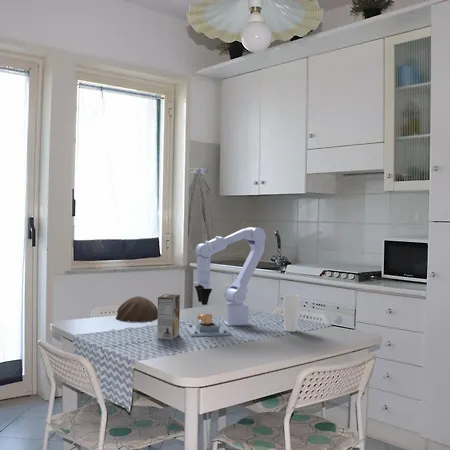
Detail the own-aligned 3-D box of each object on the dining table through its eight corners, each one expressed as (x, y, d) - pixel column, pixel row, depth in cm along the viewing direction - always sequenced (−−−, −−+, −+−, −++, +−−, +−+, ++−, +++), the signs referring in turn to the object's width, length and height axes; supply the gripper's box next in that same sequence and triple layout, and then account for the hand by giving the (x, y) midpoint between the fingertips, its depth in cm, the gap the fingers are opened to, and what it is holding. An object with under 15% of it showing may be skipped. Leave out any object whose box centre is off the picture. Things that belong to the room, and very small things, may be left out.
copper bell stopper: (213, 329, 227) (213, 314, 227) (207, 330, 224) (207, 315, 224) (202, 327, 231) (203, 312, 231) (196, 328, 228) (196, 313, 228)
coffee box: (164, 333, 221) (164, 293, 221) (179, 334, 220) (180, 294, 220) (156, 338, 212) (157, 297, 212) (172, 339, 211) (173, 297, 211)
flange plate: (222, 327, 236) (222, 320, 236) (231, 335, 221) (231, 327, 221) (185, 328, 233) (185, 321, 233) (191, 336, 217) (191, 329, 217)
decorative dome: (129, 313, 267) (129, 292, 267) (166, 316, 260) (166, 295, 260) (107, 319, 249) (107, 297, 249) (146, 323, 242) (147, 300, 242)
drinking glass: (280, 331, 231) (281, 295, 230) (286, 328, 237) (286, 293, 236) (295, 333, 227) (296, 296, 227) (301, 330, 233) (302, 294, 233)
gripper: (191, 269, 243) (190, 300, 243) (197, 273, 229) (196, 306, 229) (207, 269, 245) (206, 300, 245) (214, 273, 231) (213, 305, 231)
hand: (202, 303), depth 237 cm, fingers open, 7 cm apart
